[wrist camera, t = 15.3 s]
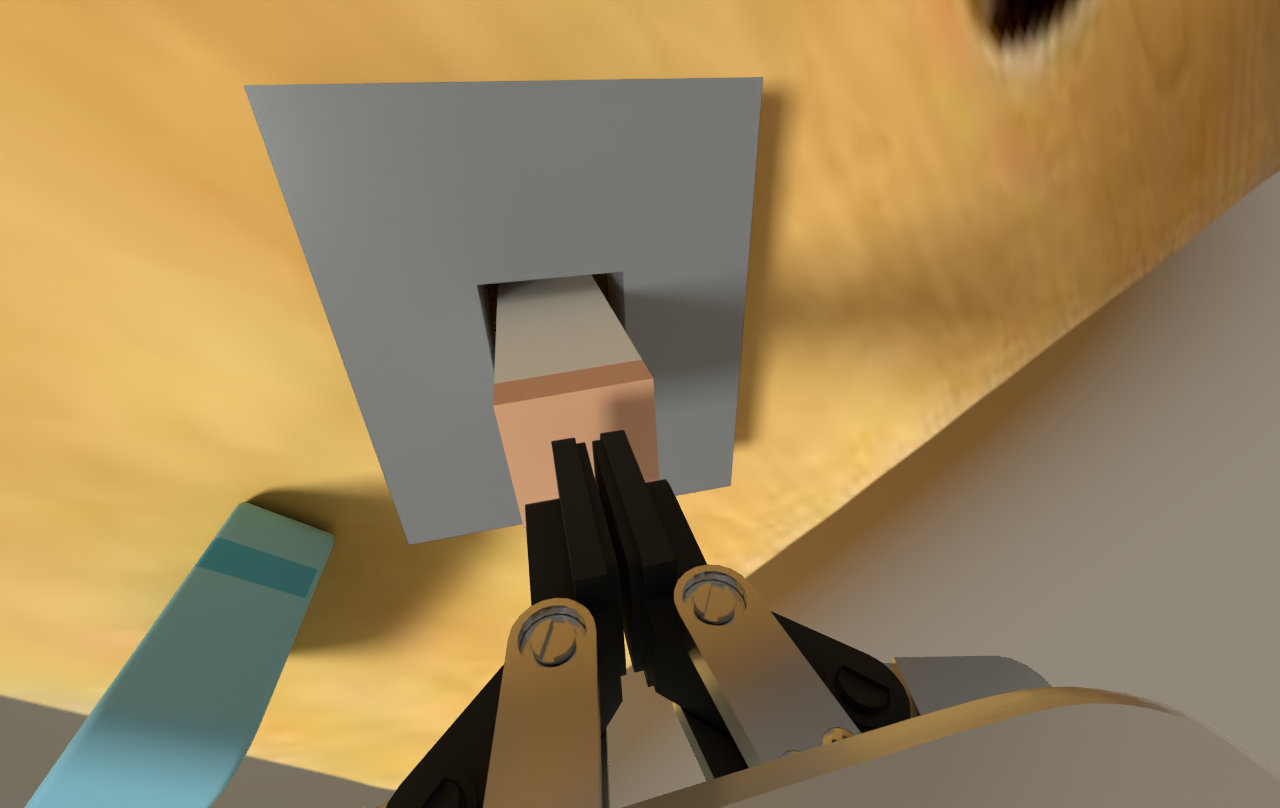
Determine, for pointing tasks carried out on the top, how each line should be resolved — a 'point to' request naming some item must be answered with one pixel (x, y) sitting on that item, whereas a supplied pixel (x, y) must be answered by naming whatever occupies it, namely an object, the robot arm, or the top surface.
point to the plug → (565, 380)
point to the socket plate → (519, 256)
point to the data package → (197, 674)
